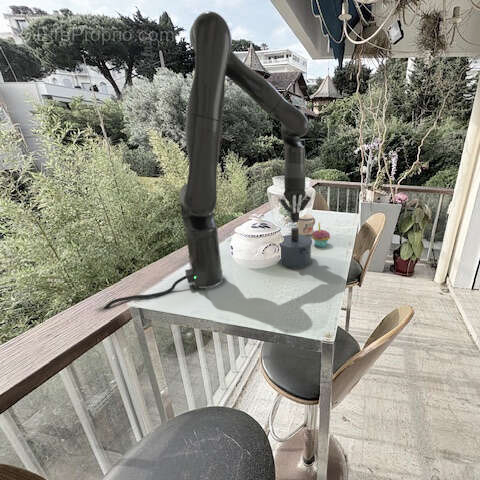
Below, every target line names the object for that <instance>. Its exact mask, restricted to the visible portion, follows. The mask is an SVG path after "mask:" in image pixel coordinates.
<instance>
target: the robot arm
mask: <svg viewBox="0 0 480 480" xmlns="http://www.w3.org/2000/svg"><path fill="white" fill-rule="evenodd" d="M189 42H190V44H191V45H190V46H191V47H192V49H193V50H194V52H195V61H194V62H195V65H194V75H193V79H192V83H191V88H190V91H189V95H188V100H187V107H186V114H185V143H186V151H187V157H188V174H187V182H186V183H185V184H183V186H181V188H180V190H179V191H178V202H179V206H180V207H179V209H180V213H181V214H180V215H181V220H182V224H183V228H184V232H185V239H186V244H187V250H188V263H189V268H188V269H185V270H184V271H185V275H184V276H182V277H180V278H179V279H176V281H174V283H173V284H172V285H171V287H170V288H168V289H166V290H164V291H160V292H155V293H149V294H136V295H130V296H123V297H119V298H114V299H112V300H111V301H109V302H108V303H107V304H106V305H105V306H104V307H103V308H102V309H103V310H107V309H109V308H110V307H111V306H112V305H113V304H116V303H119V302H123V301H128V300H134V299H148V298H149V299H150V298H153V297H159V296H163V295H166V294H168V293H170V292H172V291H174V290H175V288H176V286H177V285H178V284H179V283H181V282H182V281H184V280H187V283H188V284H191V283H192V285H193V287H194V289H195V290H198V289H201V290H203V289H205V290H206V289H207V288H208V289H209V288H213V287H216V286H219V285H220V284H221V283H222V282H223V280H224V276H223V272H224V271H223V267H222V259H221V250H220V240H219V231H218V230H219V229H218V224H217V223H216V219H215V216H214V210H215V209H216V206H217V203H218V194H217V193H218V191H217V190H218V189H217V185H218V184H217V183H218V182H217V177H218V176H217V174H218V164H219V157H220V149H221V141H222V134H223V125H224V123H223V122H224V110H225V109H224V108H225V86H226V85H225V84H226V78H228V79H229V80H230V81H232V82H233V84H235V85H237V87H239V88H240V89H241V90H242V91H243V92H244V93H245V94H246V95H248V96H249V98H251V99H252V100H253V102H255V103H256V104H257V105H258V106H259V107H260V108H261V109H262V111H264V112H265V113H266V114H267V115H268V116H269V117H271V118H272V119H274V120H277V121H278V122H280V124H281V125H280V130H281V131H280V133H281V139H282V143H283V147H284V168H283V171H284V172H283V177H284V178H283V179H284V185H283V186H284V191H283V195H282V197H279V198H278V200H277V201H278V203H280V205H281V206H282V207H283V208H284V210H285V211H287V212H289V213H290V220H291V222H293V223H297V222H298V220H299V214H300V212H302V211H305V209H306V207H307V206H308V204H309V202H310V201H311V199H312V197H311V196H309V195H307V192H306V148H305V146H304V145H302V143H301V137H304V136H305V135H307V133H309V129H310V122H309V120H308V118H307V116H306V115H305V114H304V113H303V112H302V111H301V110H299V109H298V108H297V107H296V106H295V105H293V104H292V103H290V102H289V101H287V99H286V98H284V96H283V95H282V94H281V93H280V91H278V90H277V89H276V88H275V86H274V85H273V84H272V83H271V82H269V81H268V80H267V79H266V78H265V77H263V76H262V75H260V74H259V73H258V72H256V71H255V70H253V69H252V68H251V67H249V66H248V65H246V64H245V62H243V61H242V60H241V59H240V58H239V57H238V56H237V54H236V53H235V52H234V50H232V45H233V37H232V32H231V29H230V26H229V24H228V23H227V21H226V19H225V18H224V17H223V16H222V15H220V14H219V13H217V12H215V11H210V10H209V11H204V12H202V13H200V14H199V15H198V16H197V17H196V18H195V20H194V21H193V23H192V25H191V27H190V30H189ZM287 202H288V203H287Z"/></svg>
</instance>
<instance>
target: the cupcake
mask: <svg viewBox="0 0 480 480" xmlns="http://www.w3.org/2000/svg"><path fill="white" fill-rule="evenodd" d="M311 239H312V240H313V241H314V244H315V246H316V247H319V248H324V247H326V246H327V243H328V241H329V240H330V239H331V234H330V233H329V232H328V231H327V230H324V229H321V223H320V222H318V229H317V230H315V231H313V233H312V234H311Z"/></svg>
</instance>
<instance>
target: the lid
mask: <svg viewBox="0 0 480 480" xmlns="http://www.w3.org/2000/svg"><path fill="white" fill-rule="evenodd" d="M290 232H291V233H290V234H287V235H283V236H282V237H283V238H284V241H283V242H282V243H280V244H279V245H280V246H282V247H284V248H290V249H300V248H305V247H308V246H310V245H311V246H312V245H313V238H312V237H309V236H308V235H307V236H303V235H299V229H298V228H297V226H296V227H291V229H290ZM279 245H278V246H279Z"/></svg>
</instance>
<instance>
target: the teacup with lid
mask: <svg viewBox="0 0 480 480" xmlns="http://www.w3.org/2000/svg"><path fill="white" fill-rule="evenodd" d="M315 224H316V218H315V217H314V215H313V214H310V213H308V214H306V215H304V216H302V217H299V220H298V222H296V228H298V229H299V235H303V236H307V237H308V236H312V233H313V232H314V226H315Z"/></svg>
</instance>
